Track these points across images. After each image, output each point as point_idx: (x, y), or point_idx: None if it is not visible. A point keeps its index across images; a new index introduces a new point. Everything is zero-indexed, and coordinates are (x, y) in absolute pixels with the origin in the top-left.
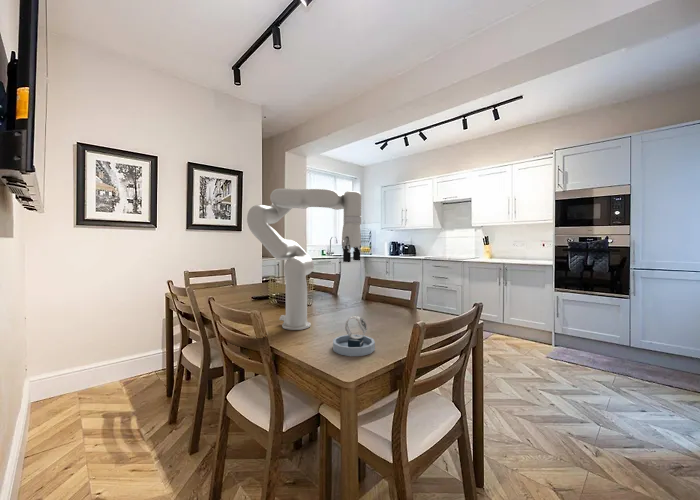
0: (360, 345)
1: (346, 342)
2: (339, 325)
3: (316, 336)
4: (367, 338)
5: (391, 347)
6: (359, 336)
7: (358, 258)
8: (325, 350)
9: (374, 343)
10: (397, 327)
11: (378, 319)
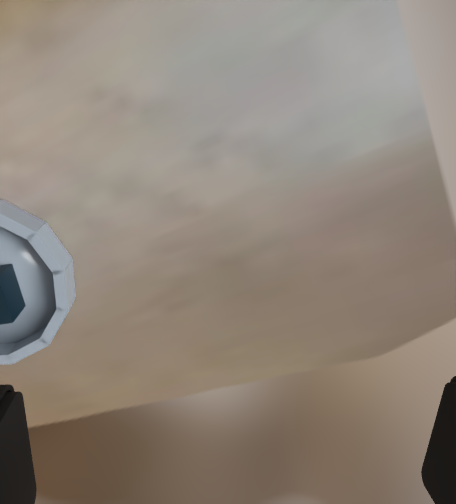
0: None
1: (10, 237)
2: (267, 74)
3: (33, 49)
4: (50, 320)
5: (83, 382)
6: (3, 309)
7: (442, 492)
8: None
9: (8, 362)
10: (334, 332)
11: (441, 219)
